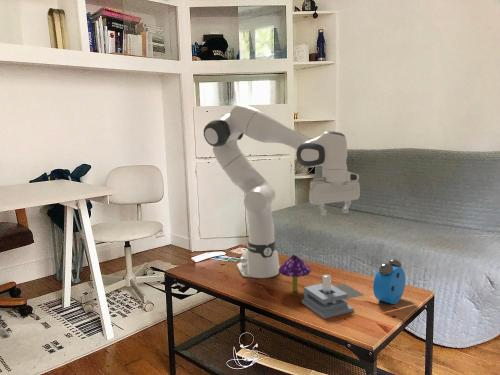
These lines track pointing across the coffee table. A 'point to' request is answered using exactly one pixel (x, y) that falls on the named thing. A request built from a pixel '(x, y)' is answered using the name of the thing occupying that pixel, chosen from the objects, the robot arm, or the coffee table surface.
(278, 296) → the coffee table surface
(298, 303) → the coffee table surface
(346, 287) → the rubber mat
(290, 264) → the decorative mushroom
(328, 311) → the grey block with hole
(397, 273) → the alarm clock
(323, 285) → the steel pin
